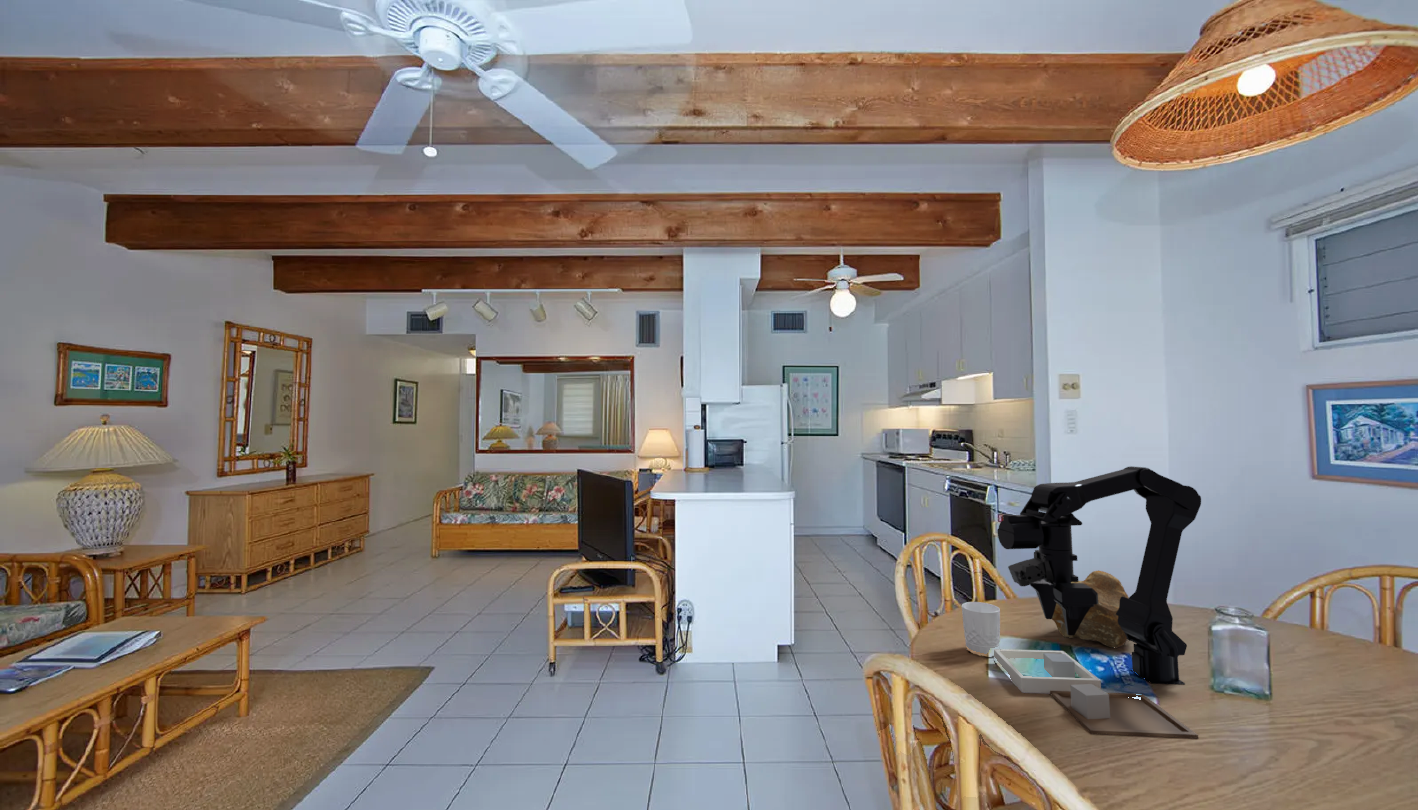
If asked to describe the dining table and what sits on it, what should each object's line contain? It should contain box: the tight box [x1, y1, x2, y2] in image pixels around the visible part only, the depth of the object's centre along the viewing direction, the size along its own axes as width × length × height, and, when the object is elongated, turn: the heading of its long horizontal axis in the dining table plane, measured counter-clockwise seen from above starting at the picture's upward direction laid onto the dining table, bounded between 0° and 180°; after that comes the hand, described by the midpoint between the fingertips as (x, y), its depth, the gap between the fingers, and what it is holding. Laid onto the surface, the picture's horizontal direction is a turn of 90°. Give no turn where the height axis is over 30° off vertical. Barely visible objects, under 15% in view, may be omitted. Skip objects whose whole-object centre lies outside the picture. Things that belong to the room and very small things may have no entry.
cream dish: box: [993, 648, 1102, 695], centre depth 112 cm, size 14×14×3 cm
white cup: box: [961, 601, 1001, 654], centre depth 127 cm, size 8×8×10 cm
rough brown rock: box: [1051, 570, 1130, 649], centre depth 133 cm, size 23×17×15 cm
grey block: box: [1043, 653, 1075, 678], centre depth 111 cm, size 4×4×4 cm
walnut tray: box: [1049, 691, 1199, 739], centre depth 97 cm, size 16×14×1 cm
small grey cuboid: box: [1070, 684, 1110, 719], centre depth 98 cm, size 4×4×4 cm
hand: (1059, 626), depth 111 cm, fingers open, 9 cm apart
